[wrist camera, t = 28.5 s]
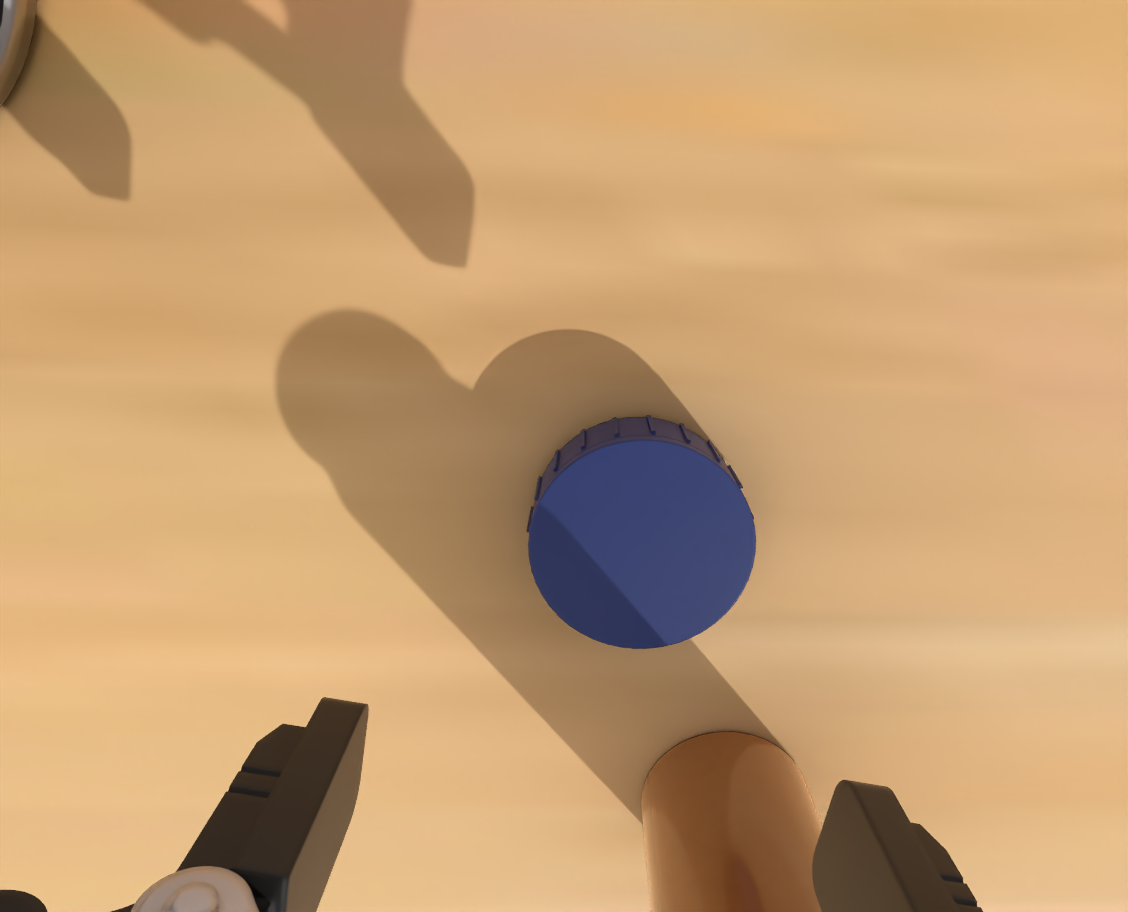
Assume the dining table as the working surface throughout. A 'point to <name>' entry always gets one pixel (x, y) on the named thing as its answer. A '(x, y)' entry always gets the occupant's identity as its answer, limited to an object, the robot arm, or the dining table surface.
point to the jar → (729, 828)
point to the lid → (640, 534)
